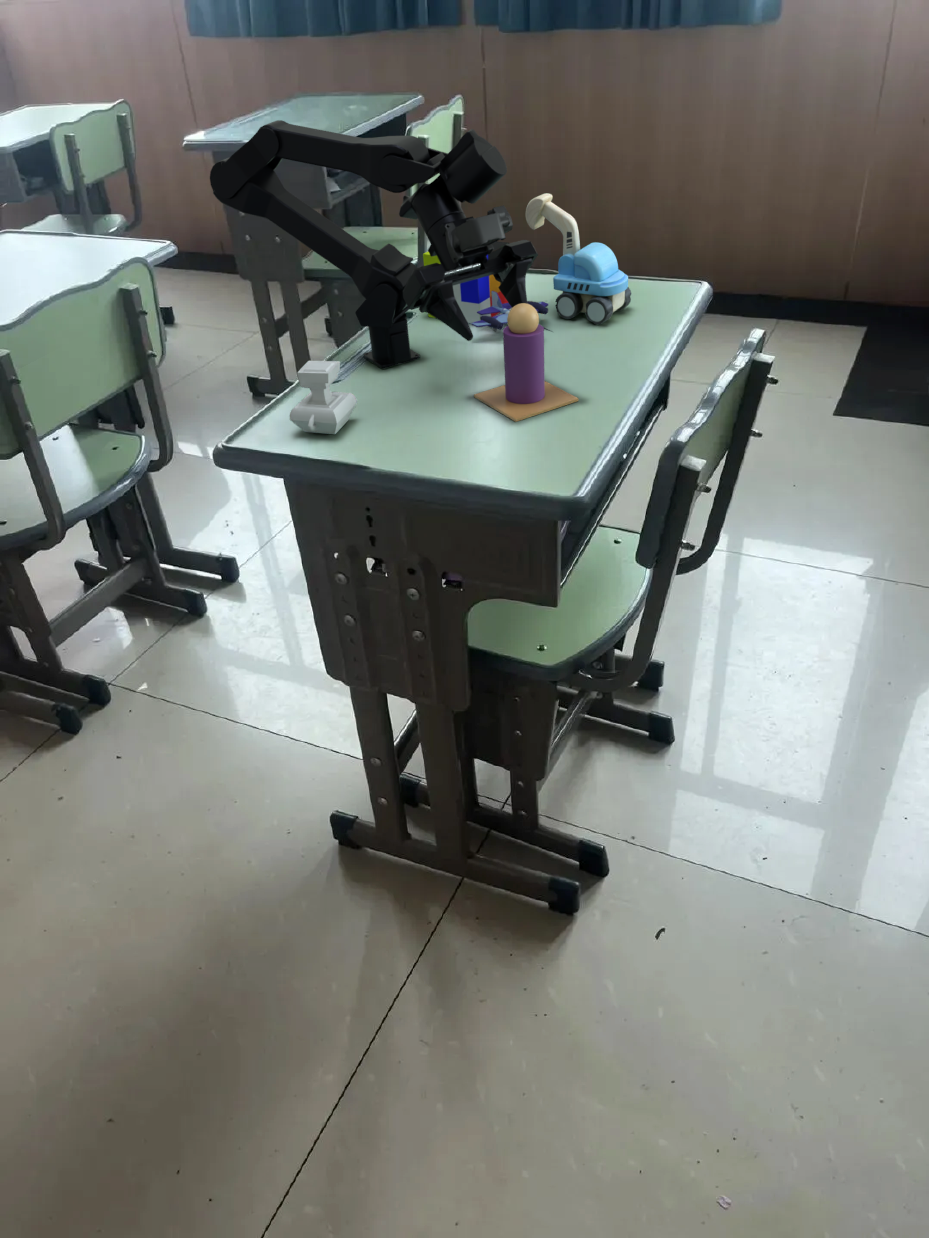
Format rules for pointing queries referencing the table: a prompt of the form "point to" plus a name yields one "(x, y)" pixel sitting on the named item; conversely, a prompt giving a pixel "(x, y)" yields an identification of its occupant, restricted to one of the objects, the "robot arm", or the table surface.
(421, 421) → the table surface
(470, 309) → the puzzle toy
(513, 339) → the peg doll toy
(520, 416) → the cork coaster
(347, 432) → the table surface
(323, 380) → the stamp
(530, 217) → the toy excavator
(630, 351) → the table surface
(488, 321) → the toy airplane
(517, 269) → the robot arm
